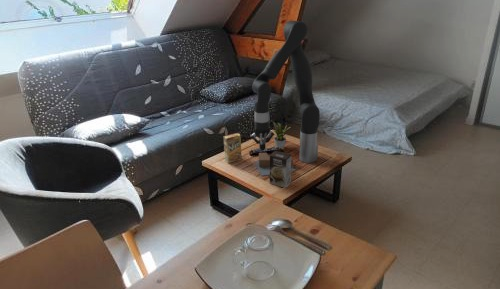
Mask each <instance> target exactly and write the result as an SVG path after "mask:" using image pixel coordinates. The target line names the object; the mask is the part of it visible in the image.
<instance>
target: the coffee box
mask: <svg viewBox="0 0 500 289" xmlns="http://www.w3.org/2000/svg"><path fill="white" fill-rule="evenodd" d="M269 156H270V175H269V184H271V185H275V186H278V187H281V188H284V189H286V188H287V187H288V186H289V185H290V184H291V179H292V178H291V176H292V175H291V174H292V173H291V172H292V171H291V156H292V157H293V155H292V154H291V153H288V152H283V151H281V150H274V151H273V152H272V153H271V154H269Z"/></svg>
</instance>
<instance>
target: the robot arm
mask: <svg viewBox="0 0 500 289" xmlns="http://www.w3.org/2000/svg"><path fill="white" fill-rule="evenodd" d="M307 35H308V26H307V24H306V23H305V22H304V21H299V20H289V21H287V22H286V23H285V24H284V26H283V36H284V39H285V42H284V43H283V44H282V45H281V47H280V48H279V49H278V50H277V51H276V52H275V53H274V54H273V55H272V56H271V58H270V59H269V60H268V62H267V64H266V66H265V67H264V68H263V70H262V71H261V72H260V73H259V74H258V75H257V77H256V78H255V79H254V81H253V82H252V85H251V89H252V91H253V93H255V94H257V99H255V101H254V115H253V116H254V131H253V133H250V134H249V136H250V137H251V139H252V140H253V142H255V143H256V144H257V145H259V149H260V151H262V152H264V151H265V150H266V144H267V143H269V142H270V141H271V139H272V138H273V137H274V136H275V135H274V134H275V132H274V131H271V129H270V112H269V111H270V109H269V106H270V105H269V103H270V101H271V100H270V99H271V95H272V88H271V87H272V86H271V85H270V84H269V82H270V81H274V80H275V79H277V77H278V75H279V73H280V72H281V70H282V68H283V67H284V65H285V64H286V62H287V61H288V60H289V58H290V64H291V70H292V71H291V72H292V75H293V76H292V77H293V80H294V83H295V87H296V91H297V94H298V95H297V96H298V103H299V112H300V114H301V125H300V129H299V130H300V132H299V133H300V134H299V156H298V157H299V158H298V159H299V161H300V162H303V163H305V164H306V163H307V164H308V163H309V164H310V163H313V162H315V161H318V154H319V153H318V152H319V144H318V129H319V127H320V115H321V112H320V108H319V107H318V105H317V104H316V102H315V99H314V95H313V73H312V67H311V63H310V60H309V59H308V56H307V55H306V53H305V51H304V49H303V45H302V42H303V40H305V38H306V37H307ZM256 137H257V138H258V139H257V138H256Z"/></svg>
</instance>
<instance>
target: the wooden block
mask: <svg viewBox="0 0 500 289" xmlns="http://www.w3.org/2000/svg"><path fill="white" fill-rule="evenodd" d="M293 160H294V159H293V155H292V156H291V167H292V166H293ZM258 161H259V167H270V154H268V153H267V152H259V153H258Z"/></svg>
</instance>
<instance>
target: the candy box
mask: <svg viewBox="0 0 500 289" xmlns="http://www.w3.org/2000/svg"><path fill="white" fill-rule="evenodd" d="M223 151H224V159H225V160H224V161H226V162H227V163H228V164H230V163H233V162H237V161H241V160H243V158H242V157H243V155H242V138H241V134H240V133H239V132H236V133H230V134H227V135H223Z"/></svg>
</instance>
